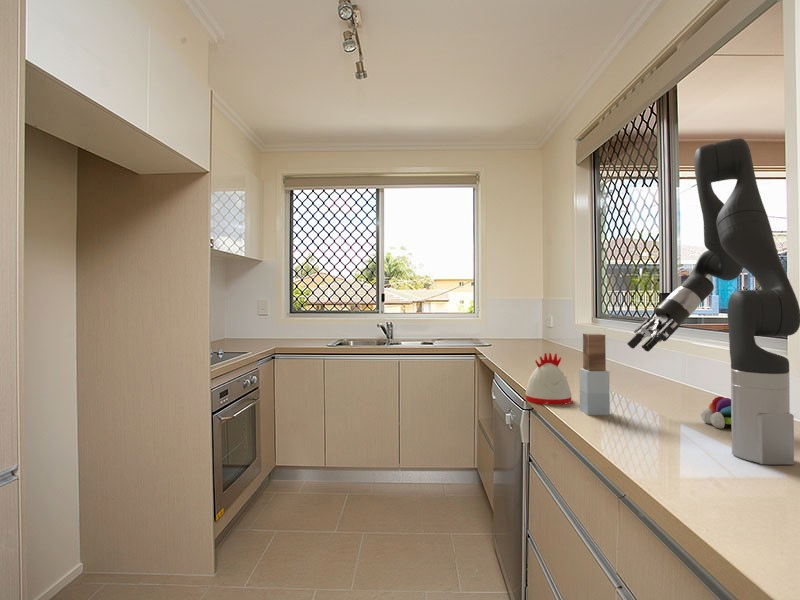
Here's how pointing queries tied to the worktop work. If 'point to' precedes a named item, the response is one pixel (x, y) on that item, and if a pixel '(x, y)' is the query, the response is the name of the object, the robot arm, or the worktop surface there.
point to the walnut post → (594, 352)
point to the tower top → (594, 381)
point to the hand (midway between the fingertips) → (636, 347)
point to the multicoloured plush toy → (718, 412)
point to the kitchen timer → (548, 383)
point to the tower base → (595, 403)
